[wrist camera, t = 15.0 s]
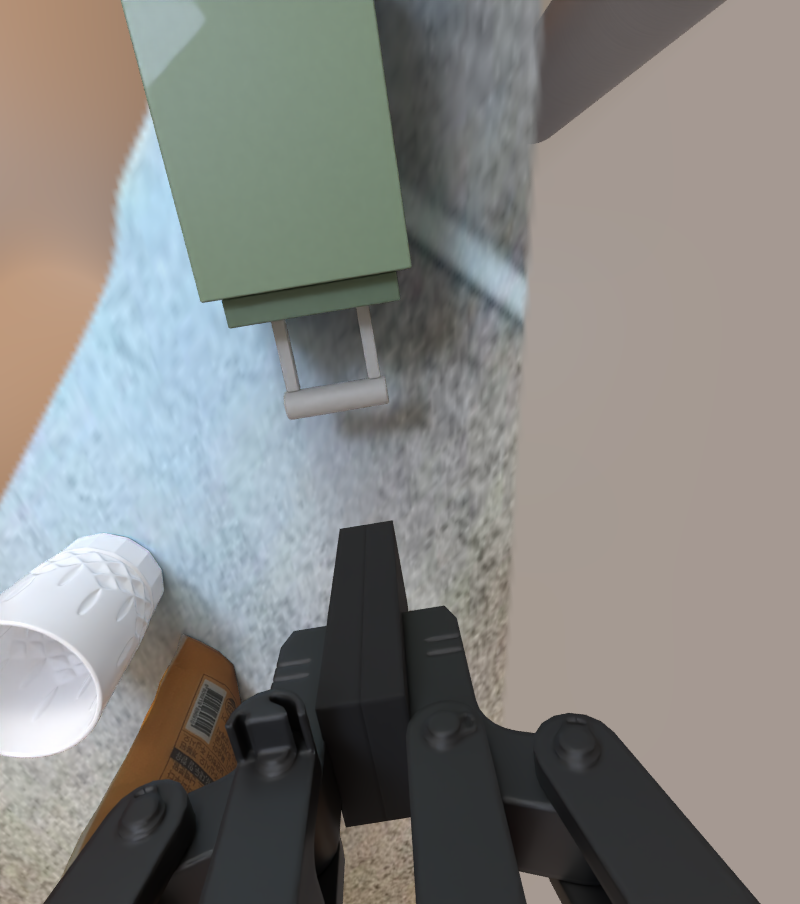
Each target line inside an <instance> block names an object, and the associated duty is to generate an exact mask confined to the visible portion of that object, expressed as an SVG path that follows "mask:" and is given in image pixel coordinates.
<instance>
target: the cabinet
mask: <svg viewBox="0 0 800 904" xmlns="http://www.w3.org/2000/svg"><path fill="white" fill-rule="evenodd" d="M121 3H122V7H123V10H124V14H125V18H126V22H127V25H128V29H129V33H130V37H131V41H132V44H133V48H134V52H135V55H136V59H137V63H138V67H139V71H140V74H141V78H142V82H143V86H144V90H145V93H146V97H147V101H148V105H149V109H150V112H151V116H152V120H153V124H154V128H155V131H156V135H157V139H158V143H159V146H160V150H161V154H162V158H163V161H164V165H165V169H166V173H167V177H168V180H169V184H170V188H171V192H172V195H173V199H174V203H175V207H176V211H177V214H178V218H179V222H180V226H181V229H182V233H183V237H184V241H185V245H186V248H187V252H188V256H189V260H190V263H191V267H192V271H193V275H194V278H195V282H196V286H197V290H198V294H199V297H200V301H201V302H202V303H204V302H211V301H217V300H223V299H229V298H235V297H241V296H247V295H253V294H259V293H265V292H271V291H277V290H283V289H289V288H295V287H301V286H307V285H313V284H319V283H325V282H331V281H337V280H343V279H349V278H355V277H361V276H367V275H374V274H380V273H386V272H392V271H401V270H405V269H409V268H411V267H412V264H411V257H410V250H409V243H408V236H407V229H406V222H405V215H404V208H403V201H402V194H401V187H400V180H399V173H398V166H397V159H396V152H395V145H394V138H393V131H392V123H391V116H390V109H389V102H388V95H387V88H386V81H385V74H384V67H383V60H382V53H381V46H380V39H379V32H378V25H377V18H376V11H375V4H374V0H121Z"/></svg>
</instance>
